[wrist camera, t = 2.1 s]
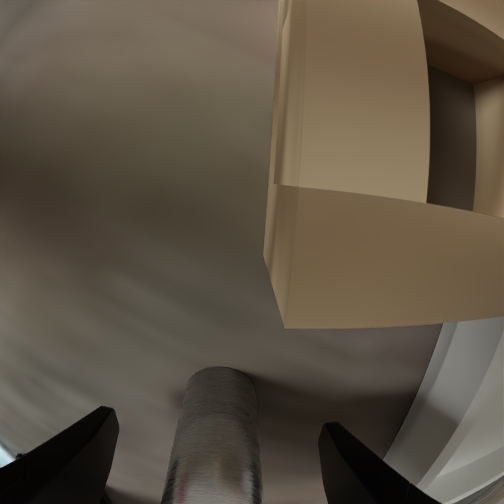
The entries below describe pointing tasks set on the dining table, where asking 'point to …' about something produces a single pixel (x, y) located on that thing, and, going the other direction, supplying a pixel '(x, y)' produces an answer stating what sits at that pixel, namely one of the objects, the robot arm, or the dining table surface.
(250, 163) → the dining table surface
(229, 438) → the cylinder
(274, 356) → the dining table surface
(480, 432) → the tray
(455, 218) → the oak block
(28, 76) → the dining table surface
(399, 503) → the robot arm
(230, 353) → the dining table surface
